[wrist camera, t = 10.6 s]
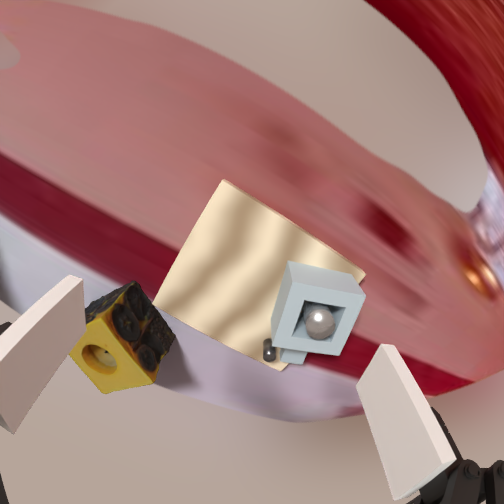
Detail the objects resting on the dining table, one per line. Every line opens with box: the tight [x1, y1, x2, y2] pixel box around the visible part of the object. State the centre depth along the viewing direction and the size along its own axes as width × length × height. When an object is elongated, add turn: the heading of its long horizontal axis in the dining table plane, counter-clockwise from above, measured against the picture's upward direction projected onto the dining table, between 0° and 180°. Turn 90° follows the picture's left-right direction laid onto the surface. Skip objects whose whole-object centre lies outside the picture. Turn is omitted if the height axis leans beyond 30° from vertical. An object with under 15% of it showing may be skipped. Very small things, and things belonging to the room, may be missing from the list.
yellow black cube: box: [69, 281, 175, 394], centre depth 33 cm, size 10×10×10 cm
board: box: [152, 179, 366, 371], centre depth 35 cm, size 20×18×2 cm
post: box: [301, 300, 335, 339], centre depth 31 cm, size 3×3×6 cm
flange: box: [271, 261, 366, 365], centre depth 32 cm, size 13×8×6 cm, turn 168°
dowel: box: [263, 338, 276, 362], centre depth 35 cm, size 2×2×3 cm
